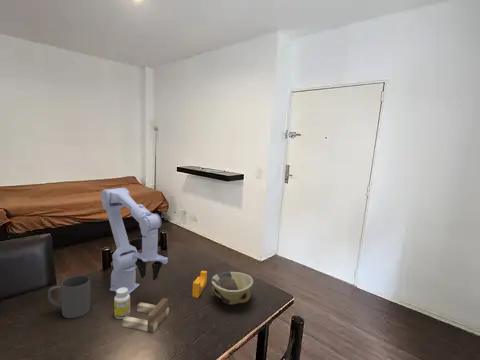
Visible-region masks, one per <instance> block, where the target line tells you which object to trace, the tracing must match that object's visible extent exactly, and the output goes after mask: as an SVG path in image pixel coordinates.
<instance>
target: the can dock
mask: <svg viewBox="0 0 480 360" xmlns="http://www.w3.org/2000/svg"><path fill="white" fill-rule="evenodd" d="M136 306H137V307H136V308H137V309H136V311H137V312H140V313H145V314H148V315H147V319H143V318H138V317H137V318H136V317H134V316H133V317H132V316H126V317H125V318H123V319H122V327H124V328H130V329H135V330H139V331H144V332H148V333H151V334H152V333H153V334H154V333H156V332H157V330H158V326H159V325H160V324H161V323H162V322H163V320H164V319H165V318H167V317H168V316H169V315H170V307H169V298H165V297H163V298H161V300H160V301H158V303H157V304H151V303H147V302H139V303H138V304H137V305H136Z"/></svg>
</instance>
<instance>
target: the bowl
mask: <svg viewBox="0 0 480 360" xmlns="http://www.w3.org/2000/svg"><path fill="white" fill-rule="evenodd" d="M210 282H211V286H212V287H211V288H212V292H213V293H214V295H215V296H216V297H217V298H219V299H221V301H222V303H224V304H226V305H236V304H243V303H247V302H248V301H249V300H250V299H251V296H252V295H251V290H250V289H251V288H252V287H253V285H254V278H253V277H252V276H251V275H249V274H246V273H243V272H239V271H224V272H223V271H222V272H220V273H217V274H215V275H213V276H212V278H210ZM245 294H246V295H245ZM244 295H245V297H243V296H244Z"/></svg>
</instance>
